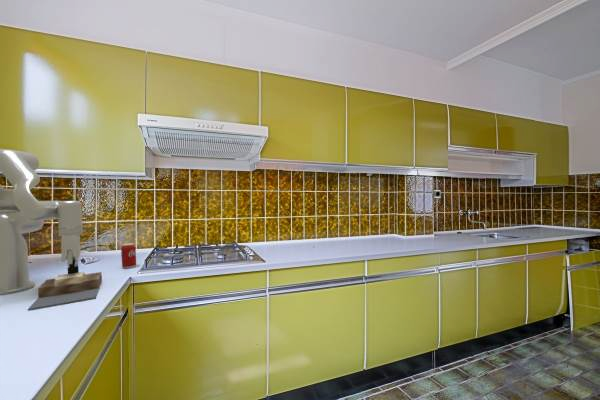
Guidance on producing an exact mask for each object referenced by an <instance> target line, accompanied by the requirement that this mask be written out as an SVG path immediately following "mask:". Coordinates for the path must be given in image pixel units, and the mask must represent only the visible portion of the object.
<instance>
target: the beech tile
mask: <svg viewBox="0 0 600 400" xmlns="http://www.w3.org/2000/svg"><path fill="white" fill-rule="evenodd" d="M85 274H86V273H85V271H83V272H82V271H81V272H79V273H72V274H68V273H65V274H58V275H57V277H55V278H56V279H55V278H54V279H55V280H54V282H55V287H57V286H63V285H70V284H77V283H82V282H83V280H84V278H85Z"/></svg>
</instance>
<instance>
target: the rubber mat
mask: <svg viewBox="0 0 600 400" xmlns="http://www.w3.org/2000/svg"><path fill="white" fill-rule="evenodd" d="M99 289H100V288H98V289H92V290H86V291H80V292H73V293H67V294H61V295H55V296H49V297H42V298H39V297H38V298H37V299H36V300H34V302H33V303H32V304H31V305H30V306H29V307H28V308H27V311H29V312H30V311H35V310H39V309H45V308H51V307H57V306H62V305H68V304H74V303H79V302H84V301H90V300H96V299H97V296H98V292H99Z"/></svg>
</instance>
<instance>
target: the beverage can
mask: <svg viewBox="0 0 600 400" xmlns="http://www.w3.org/2000/svg"><path fill="white" fill-rule="evenodd" d="M120 249H121V250H120V253H121V267H122V268H123V269H133V268H135V267H136V266H137V250H136V249H137V248H136V245H135V243H134V242H132V243H131V242H128V243H124V244H122V246H121V247H120Z"/></svg>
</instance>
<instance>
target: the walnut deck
mask: <svg viewBox="0 0 600 400" xmlns="http://www.w3.org/2000/svg"><path fill="white" fill-rule="evenodd" d="M84 274H85V278H84V280H83V282H82V283H77V284H70V285H63V286H57V287H55V282H54V280H55V279H56V278H57V277H55V278H49V279H46V280H44V282H43V283H41V285H40V286H39V287H38V289H37V291H38V298H42V297H49V296H55V295H61V294H67V293H73V292H80V291H86V290H92V289H98V288H99V289H100V288H101V285H102V282H103V276H102V271H99V272H92V273H84Z"/></svg>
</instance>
